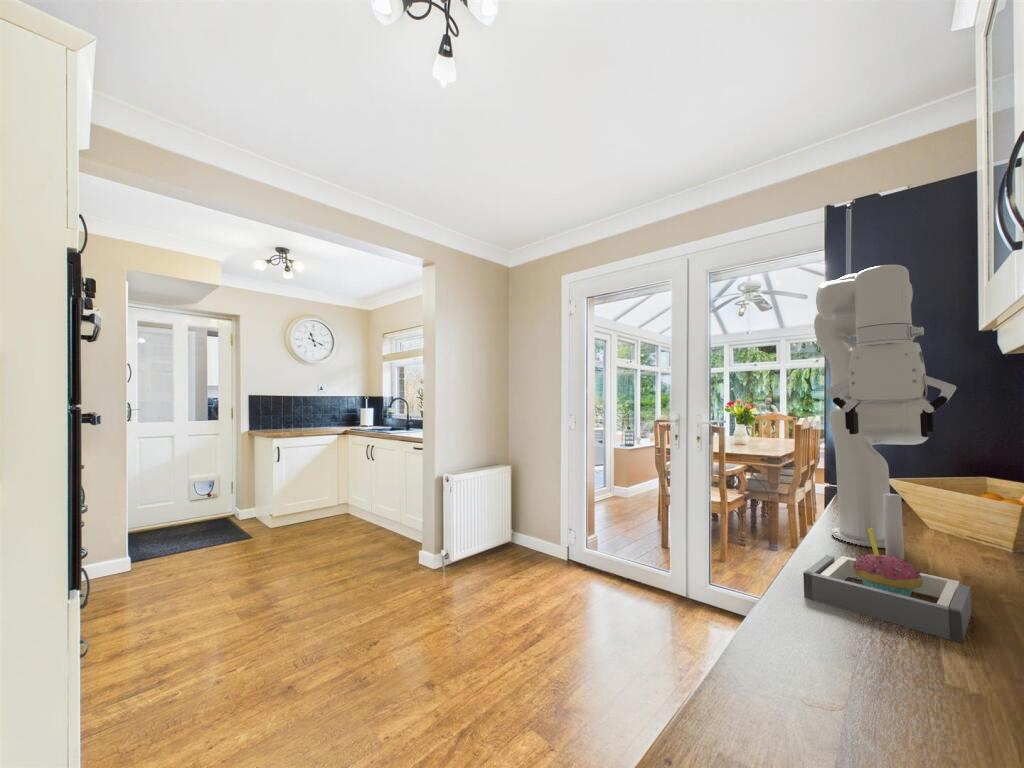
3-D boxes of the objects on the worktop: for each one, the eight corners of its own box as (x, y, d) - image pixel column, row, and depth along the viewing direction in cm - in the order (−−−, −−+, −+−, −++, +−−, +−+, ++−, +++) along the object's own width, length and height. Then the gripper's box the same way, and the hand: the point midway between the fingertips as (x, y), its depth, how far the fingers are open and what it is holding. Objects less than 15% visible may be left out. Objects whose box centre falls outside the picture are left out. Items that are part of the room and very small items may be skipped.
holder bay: (827, 577, 81) (826, 554, 81) (971, 613, 67) (970, 586, 67) (804, 597, 73) (803, 572, 73) (962, 643, 59) (960, 612, 59)
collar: (843, 571, 82) (840, 487, 83) (960, 599, 70) (955, 501, 71) (817, 595, 73) (813, 500, 73) (948, 631, 61) (942, 518, 61)
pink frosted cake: (851, 601, 71) (848, 526, 72) (857, 584, 77) (854, 516, 78) (924, 618, 65) (920, 537, 66) (923, 599, 72) (920, 524, 72)
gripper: (955, 333, 73) (961, 436, 72) (831, 344, 86) (835, 432, 86) (949, 328, 68) (955, 439, 67) (818, 341, 82) (822, 434, 81)
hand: (888, 435), depth 77 cm, fingers open, 9 cm apart
